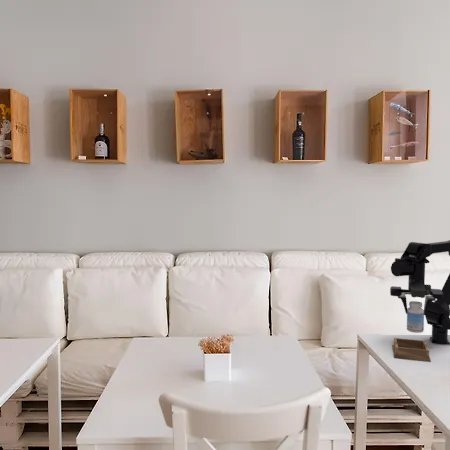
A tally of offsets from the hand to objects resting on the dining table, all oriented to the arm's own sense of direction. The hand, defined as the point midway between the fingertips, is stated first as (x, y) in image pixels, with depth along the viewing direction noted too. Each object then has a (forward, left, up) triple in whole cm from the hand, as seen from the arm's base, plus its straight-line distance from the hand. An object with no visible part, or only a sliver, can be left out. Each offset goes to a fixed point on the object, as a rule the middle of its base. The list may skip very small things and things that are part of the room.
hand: (415, 314), depth 170 cm
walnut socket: (+11, -2, -12) cm, 17 cm away
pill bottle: (0, 0, -7) cm, 7 cm away
